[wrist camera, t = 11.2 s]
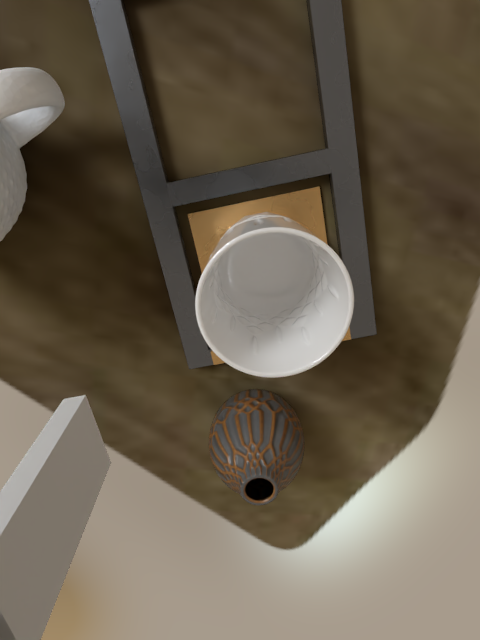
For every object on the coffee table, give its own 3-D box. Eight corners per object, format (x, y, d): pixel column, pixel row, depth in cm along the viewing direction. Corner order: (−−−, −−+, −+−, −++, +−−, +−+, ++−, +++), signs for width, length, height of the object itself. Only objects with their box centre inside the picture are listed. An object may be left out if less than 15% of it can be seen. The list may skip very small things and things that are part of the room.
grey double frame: (87, -20, 26) (80, -27, 25) (328, -80, 25) (332, -90, 24) (190, 363, 35) (188, 370, 34) (372, 329, 34) (377, 335, 33)
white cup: (252, 333, 34) (257, 404, 25) (185, 249, 32) (162, 292, 22) (342, 270, 32) (384, 321, 23) (277, 177, 30) (294, 192, 21)
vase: (302, 443, 38) (320, 525, 29) (220, 455, 38) (215, 539, 30) (291, 369, 35) (308, 436, 27) (204, 383, 36) (194, 453, 27)
